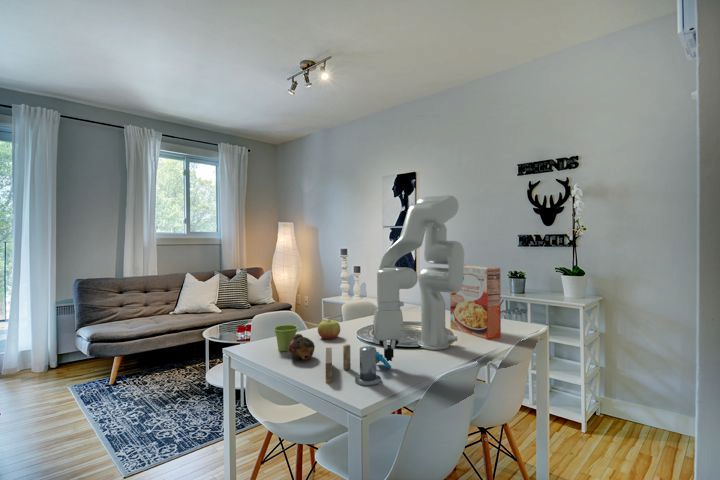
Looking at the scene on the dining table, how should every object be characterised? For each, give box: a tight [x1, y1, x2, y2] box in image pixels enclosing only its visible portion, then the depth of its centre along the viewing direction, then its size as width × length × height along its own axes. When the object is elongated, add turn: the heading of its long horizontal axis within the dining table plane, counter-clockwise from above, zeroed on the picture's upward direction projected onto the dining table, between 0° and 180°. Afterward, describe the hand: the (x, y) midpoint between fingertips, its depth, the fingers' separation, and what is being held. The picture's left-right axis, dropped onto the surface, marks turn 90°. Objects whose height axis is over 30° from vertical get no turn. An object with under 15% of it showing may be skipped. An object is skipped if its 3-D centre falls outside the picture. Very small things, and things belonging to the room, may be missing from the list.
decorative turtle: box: [288, 333, 316, 362], centre depth 140 cm, size 10×15×8 cm, turn 27°
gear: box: [370, 345, 392, 370], centre depth 129 cm, size 11×6×10 cm
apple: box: [317, 319, 341, 340], centre depth 167 cm, size 10×10×8 cm
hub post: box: [354, 345, 382, 387], centre depth 118 cm, size 8×8×10 cm
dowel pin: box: [342, 343, 352, 371], centre depth 128 cm, size 2×2×8 cm
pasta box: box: [449, 264, 502, 341], centre depth 174 cm, size 23×8×30 cm, turn 28°
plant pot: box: [273, 324, 299, 352], centre depth 151 cm, size 9×9×9 cm
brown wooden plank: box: [325, 347, 333, 384], centre depth 125 cm, size 2×16×6 cm, turn 5°
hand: (388, 359), depth 129 cm, fingers closed
